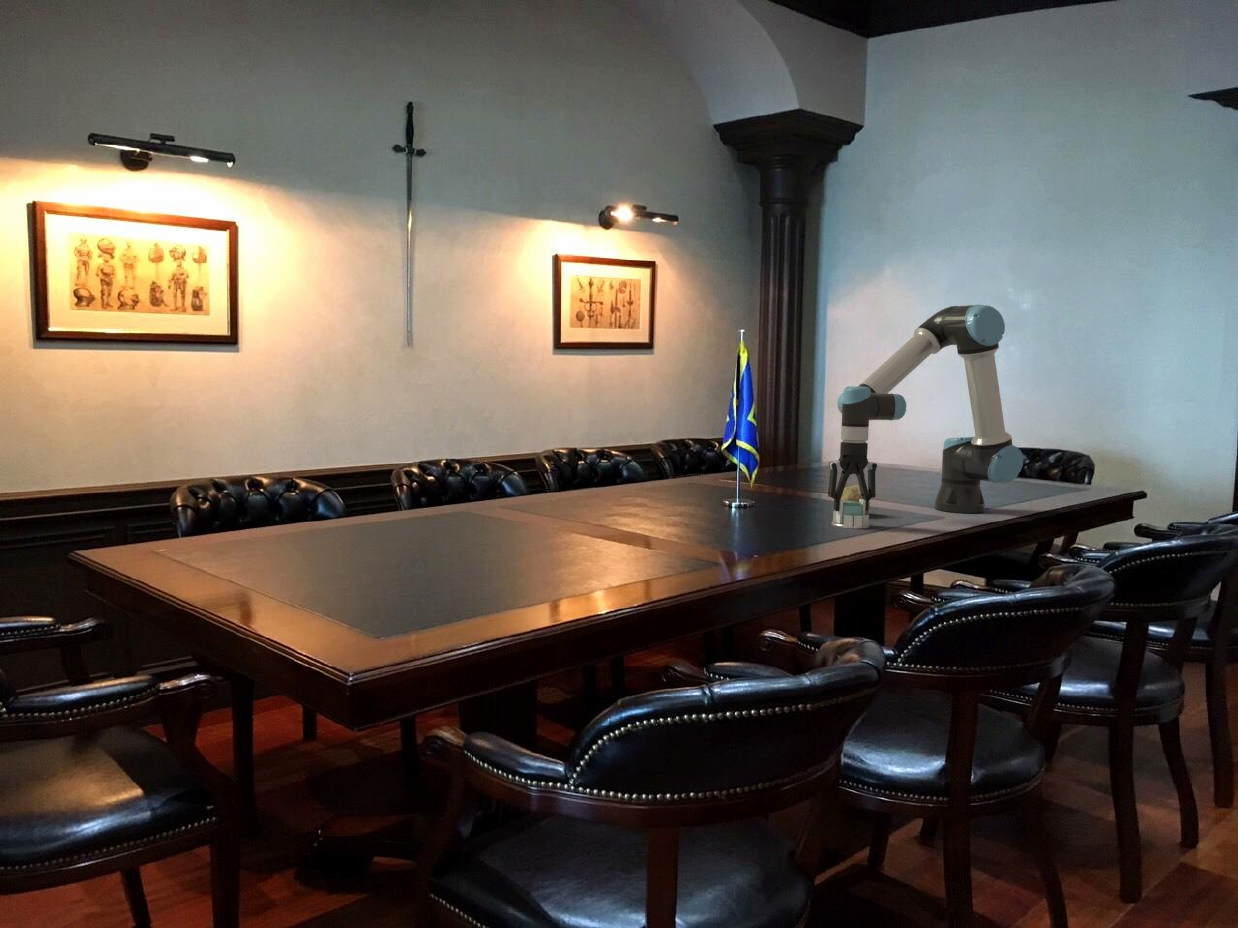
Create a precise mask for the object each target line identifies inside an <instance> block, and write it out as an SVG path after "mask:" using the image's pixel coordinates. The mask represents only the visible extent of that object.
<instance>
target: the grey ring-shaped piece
mask: <svg viewBox="0 0 1238 928" xmlns="http://www.w3.org/2000/svg"><path fill="white" fill-rule="evenodd" d="M832 514H833V515H832V521H831V525H832V526H833V527H836V528H843V529H853V530H854V529H858V530H859V529H867V528H870V523H869V521H870V515H869V514H862V515H847V514H844V523H843V524H841V523H838V522H836V514H837V511H835V510H833V512H832Z"/></svg>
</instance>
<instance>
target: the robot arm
mask: <svg viewBox="0 0 1238 928" xmlns="http://www.w3.org/2000/svg"><path fill="white" fill-rule="evenodd" d="M1005 331H1006V325H1005V320H1004V317H1003V315H1002V314H1001V312H1000V311H999V310H998V309H996V308H995V307H994V306H991V305H984V304H970V305H969V304H968V305H952V306H949V307H945V308H943V309H940V310H939V311H937V312H936V313H934V314H933V315H932V316H929V317H928V318H927V319H926V320H925V321H924V322H923V323H921V324H920V325H919V326H918V327H917V328H916V329H915V330H914V332H913V335H912V337H911V338H909V340H907V341H906V342H905V343H904V344H903V345H902V346H901V347H900V348H899V349H898V350H897V351H896V352H894V353H893V354H892V355H891V356H890V357H889V358H888V359H887V360H886V361H884V362H883V363H882V364H881V365H880V366H879V367H878V368H876V370H874V372H872V373H871V374H870V375H869V376H868V377H867V378H866V379H865V380H863V382H862V383H860V384H859V385H858V386H853V385H852V386H846V387H844V388H843V392H842V393H841V394H840V395H839V396H838V399H837V403H836V404H837V408H838V411H839V412H840V414H841V427H840V429H841V431H840V439H841V440H842V441H841V442H840V445H839V446H840V449H839V458H838V460H837V461H834V462H832V461H830V462H829V464H828V466H829V470H830V472H829V480H828V488H827V489H828V490H827V496H828V497H829V498H832V499H833V511H837V514H836V522H838V523H842V517H843V500H841V497H842V494H843V491H844V488H846V484H847V481H848V479H849V478H850V476H851V475H855V477H857V482H858V485H859V487H860V491H861V495H862V498H863V499H859V502H860V503H861V505H862V514H865V511H868V502H870V500H871V499H874V498H875V497H876V471H877V467H878V463H876V462H871V461H869V460H868V459H869V458H868V450H869V449H868V448H869V446H868V445H869V443H868V440H869V431H870V430H869V428H870V427H869V426H870V421H890V422H891V421H892V422H893V421H897V420H901V419H902V418H903V417H904V416H905V414H906V412H907V402H906V398H905V397H904V396H903V395H902V394H899V393H892V392H891V391H892V390H894V389H895V388H896V386H898V385H899V384H900V383H901V382H902V381H903V380H904V379H906V377H908V375H910V374H911V373H912V372H913V371H914V370H916V368H917V367H918V366H920V364H922V363H923V362H924V361H926V359H928V357H930V355H935V354H938V353H939V352H940V351H941V350H942V349H944V348H946V347H949V346H956V351H957V356H960V357H961V358H962V359H963V361H964V368H965V375H966V380H967V388H968V394H969V402H970V409H971V414H972V421H973V428H974V430H973V431H974V434H975V435H974V436H967V437H963V436H962V437H949V438H946V439H945V440H944V443H943V448H942V458H941V459H942V461H941V463H942V464H941V485H940V487H939V490H938V492H937V495H936V497H935V499H934V504H933V505H934V507H933V508H934V509H935V510H937V511H942V512H948V513H961V514H976V513H977V514H978V513H980V514H981V513H983V512H985V507H986V505H985V504H986V503H985V499H984V497H983V493H982V490H981V481H983V482H989V483H992V484H1007V483H1008V484H1009V483H1011V482H1012V481H1014V480H1015V479H1016V478H1017V477H1018V476H1019V474H1020V472H1021V470H1022V468H1023V465H1024V455H1023V453H1022V451H1021V449H1019V447H1018V446H1015V445H1013V438H1012V435H1011V434H1010V433H1009V432H1007V431H1006V426H1005V421H1004V413H1003V406H1002V399H1001V392H1000V391H1001V390H1000V385H999V378H998V373H997V372H998V371H997V364H996V356H995V354H996V352H997V351H998V349H1000V344H999V342H1000V341H1002V339H1003V338H1004V334H1005ZM890 392H891V393H890ZM839 468H841V472H840V478H839V481H838V470H839ZM865 468H867V483H866V478H865V472H864V470H865ZM837 481H838V483H837Z"/></svg>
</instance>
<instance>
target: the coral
mask: <svg viewBox="0 0 1238 928" xmlns="http://www.w3.org/2000/svg"><path fill="white" fill-rule="evenodd" d="M859 499H863V498H862V495H861V491H860V487H859V484H854V485H850V486H845V488H844V491H843V494H842V497H841V500H843V501H856V502H859ZM870 504H871V502H870V501H869V502H868V511H865V514H866V515H868V513H869V511H870Z"/></svg>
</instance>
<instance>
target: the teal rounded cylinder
mask: <svg viewBox="0 0 1238 928" xmlns="http://www.w3.org/2000/svg"><path fill="white" fill-rule="evenodd" d="M844 514H847V515H862V505H861V503H860V502H856V501H843V517H842V523H841V524H843V523H844Z"/></svg>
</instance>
